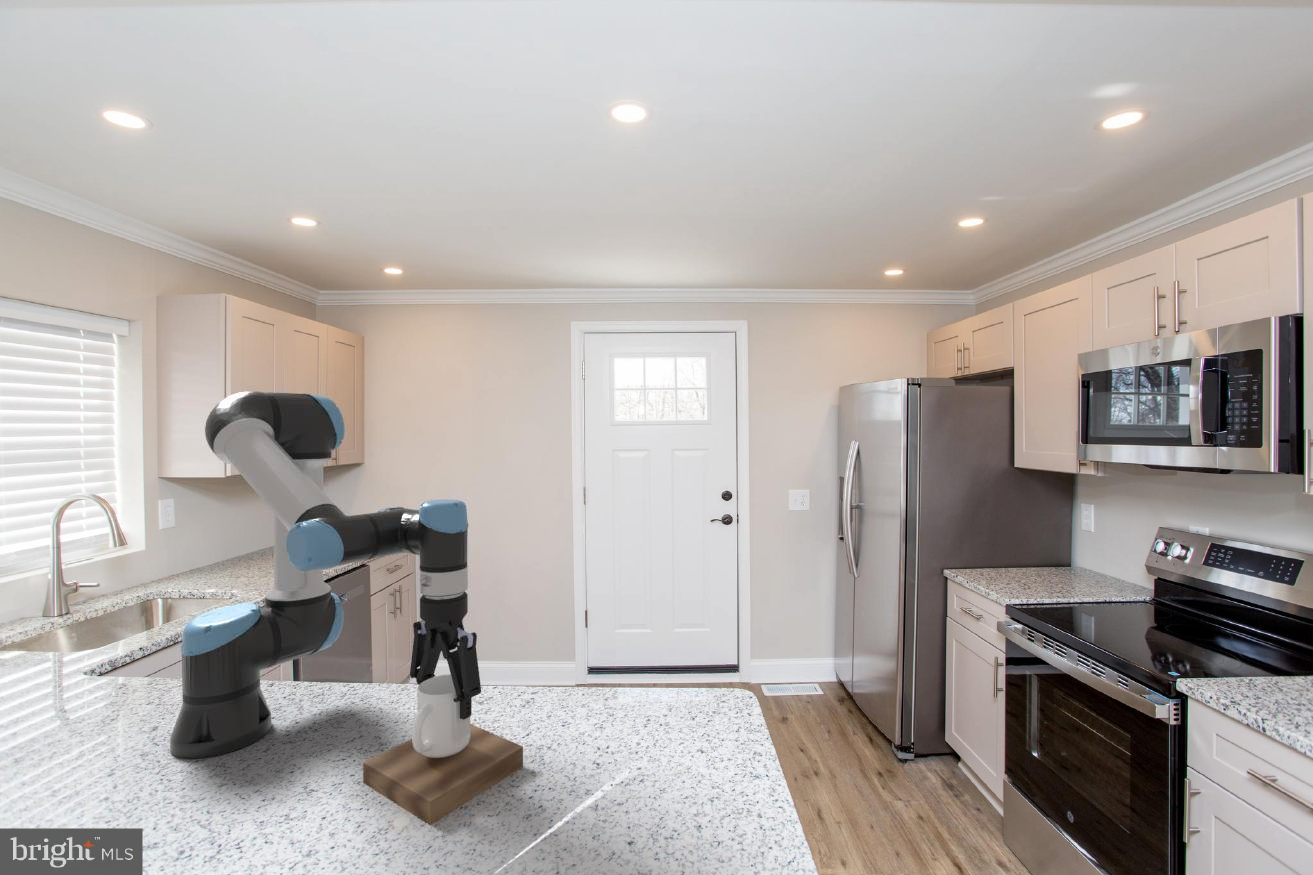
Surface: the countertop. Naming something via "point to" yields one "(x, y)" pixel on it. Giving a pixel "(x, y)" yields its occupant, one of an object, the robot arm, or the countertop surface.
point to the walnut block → (442, 774)
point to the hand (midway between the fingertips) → (444, 728)
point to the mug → (436, 719)
